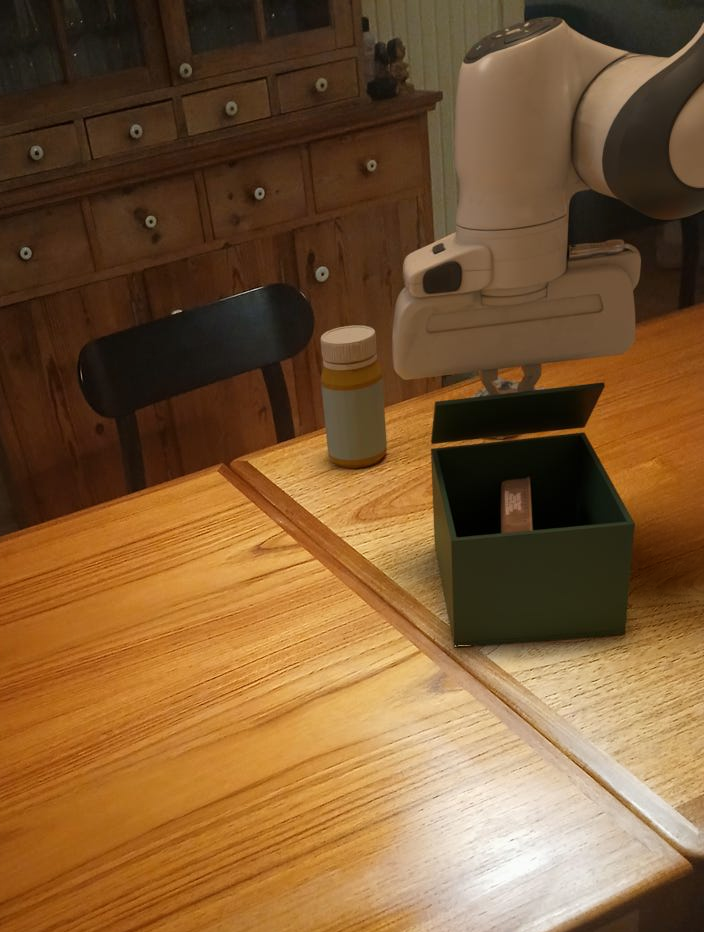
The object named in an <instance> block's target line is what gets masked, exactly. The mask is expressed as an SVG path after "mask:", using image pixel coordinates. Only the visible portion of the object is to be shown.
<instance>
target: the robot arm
mask: <svg viewBox="0 0 704 932" xmlns="http://www.w3.org/2000/svg"><path fill="white" fill-rule="evenodd" d="M455 93H456V94H455V105H454V107H455V109H454V127H453V129H454V130H453V135H454V137H453V139H454V141H453V142H454V143H453V153H454V154H453V159H454V170H455V173H456V177H457V179H458V185H459V199H458V204H457V208H456V212H455V219H454V220H455V221H454V222H455V223H454V224H455V232H453V233H451V234H448V235H447V236H445V237H443V238H440V239H437V240H436V241H434V242H432V243H429V244H428V245H425V246H423V247H421V248H419V249H417V250H416V249H415V250H414V251H412V252H410V253H409V254H408V255H406V256H405V258H404V261H403V263H402V279H403V282H404V287H403V289H402V290H401V291H400V292H399V294H398V296H397V299H396V301H395V306H394V311H393V312H394V313H393V321H392V335H391V336H392V340H391V353H392V367H393V370H394V372H395V373H396V374H397V375H398V376H399V378H401V379H402V380H405V381H406V380H416V379H424V378H432V377H433V378H434V377H442V376H449V375H451V376H452V375H459V374H467V373H475V372H478V376H479V378H480V382H481V383H482V386H483V387H485V388H486V389H487V391H488V392H489V394H490V395H498V394H507V393H515V392H524V391H532V389H533V388H534V387H535V386H536V385H537V383H538V381H539V380H540V378H541V377H542V365H544V364H545V365H546V364H552V363H553V364H554V363H563V362H569V361H579V360H587V359H588V360H589V359H598V358H605V357H614V356H623V355H625V354H626V353H627V352H628V351H629V349H630V348H631V347H632V346H633V345H634V343H635V341H636V340H635V339H636V307H635V297H634V290H635V288H636V287H637V285H638V284H639V281H640V278H641V267H642V256H641V253H640V251H639V250H638V249H637V247H635V246H634V245H632V244H630V243H625V241H624V240H623V239H609V240H606V241H603V242H588V243H587V242H586V243H577V244H570V245H568V238H569V237H568V236H569V215H570V214H569V213H570V202H571V199H572V197H573V196H574V195H575V194H577V193H578V192H583V191H588V190H592V191H594V192H597V193H599V194H601V195H604V196H607V197H611V198H614V199H617V200H619V201H620V202H621V203H623V204H625V205H627V206H629V207H630V208H632V209H634V210H635V211H637V212H638V213H640V214H643V215H645V216H646V217H649V218H651V219H656V220H662V221H663V220H665V221H668V220H669V221H670V220H679V219H682V218H684V219H685V218H688V217H690V216H693V215H695V214H698V213H699V212H702V211H704V22H703V23H702V24H701V27H700V28H699V30H698V31H697V32H696V34H695V35H694V37H692V39H690V40H689V42H687V44H686V45H684V47H682V48H681V49H680V50H678V51H677V52H675V54H673V55H671V56H670V57H664V56H655V55H652V54H651V55H650V54H640V53H636V52H635V53H634V52H630V51H628V50H624V49H619V48H616V47H613V46H609V45H607V44H603V43H601V42H598V41H596V40H594V39H591V38H589V37H588V36H585V35H583V34H581V33H579V32H578V31H576V30H575V29H573V28H572V27H570V25H568V23H567V22H566V21H565V20H564V19H562V18H561V17H555V16H544V17H537V18H531V19H529V20H526V21H523V22H516V23H513V24H511V25H509V26H506V27H502V28H500V29H498V30H496V31H494V32H492V33H490V34H488V35H486V36H484V37H483V38H481V39H480V40H479V41H477V42H476V43H474V44H473V45H472V47H470V49H469V50H468V51H467V52H466V54H465V56H464V57H463V59H462V62H461V66H460V69H459V74H458V79H457V85H456V92H455ZM624 250H627V251H624ZM518 367H520V369H521V371H522V373H523V377H522V378H521V380H520V381H519V382H520V384H519V385H518V387H517V389H510V390H501V391H499V390H498V388H497V387H496V385H495V384H494V382H493V381H495V380H497V379H498V377H499V370H501V369H510V368H518Z"/></svg>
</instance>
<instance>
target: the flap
mask: <svg viewBox="0 0 704 932" xmlns="http://www.w3.org/2000/svg"><path fill="white" fill-rule="evenodd" d="M605 387H606V385H605V382H603V381H602V382H595V383H587V384H576V385H569V386H561V387H559V386H558V387H553V388H552V387H551V388H545V389H541V390H533V391H524V392H515V393H507V394H498V395H489V396H480V397H472V396H471V397H472V398H471V397H464V398H455V399H447V400H446V399H445V400H438V401H437V400H436V401H434V408H433V419H432V426H431V428H432V429H431V438H430V444H431V445H435V444H444V443H454V442H455V443H456V442H463V441H473V440H482V439H490V438H491V439H492V438H495V437H502V436H511V435H516V436H520V435H528V434H538V433H548V432H557V431H565V430H566V431H567V430H575V429H583V428H586V426H587V423H588V422H589V420H590V417H591V415H592V413H593V411H594V409H595V407H596V405H597V403H598V402H599V400H600V397H601V395H602V393H603V391H604V389H605Z"/></svg>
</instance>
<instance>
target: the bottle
mask: <svg viewBox="0 0 704 932" xmlns="http://www.w3.org/2000/svg"><path fill="white" fill-rule="evenodd" d="M320 348H321V349H320V350H321V356H322V366H323V367H322V371H321V375H320V387H321V398H322V408H323V417H324V427H325V436H326V447H327V453H328V454H327V455H328V458H329V460H330V461H331V462H332V463H334V464H335V465H336V466H338V467H341V468H346V469H347V468H348V469H360V468H365V467H366V468H367V467H369V466H372V465H375V464H376V463H378V462H380V461H381V460H382V459H383V458H384V456H385V455H386V453H387V451H388V450H387V449H388V448H387V445H388V444H387V441H388V440H387V427H386V411H385V397H384V383H383V380H384V379H383V373H382V371H383V370H382V367H381V366H380V364H379V361H378V354H377V334H376V330H375V329H374V328H373V327H371V326H368V325H346V326H339V327H335V328H332V329H329V330H328V331H325V332H324V333H323V334H322V335H321V336H320Z"/></svg>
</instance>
